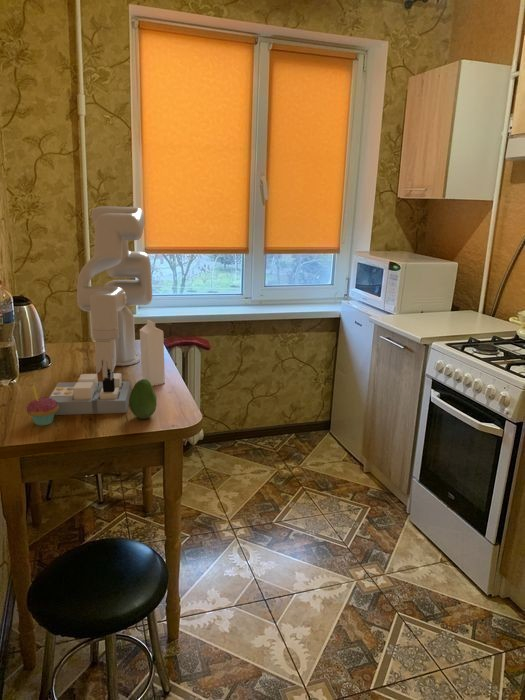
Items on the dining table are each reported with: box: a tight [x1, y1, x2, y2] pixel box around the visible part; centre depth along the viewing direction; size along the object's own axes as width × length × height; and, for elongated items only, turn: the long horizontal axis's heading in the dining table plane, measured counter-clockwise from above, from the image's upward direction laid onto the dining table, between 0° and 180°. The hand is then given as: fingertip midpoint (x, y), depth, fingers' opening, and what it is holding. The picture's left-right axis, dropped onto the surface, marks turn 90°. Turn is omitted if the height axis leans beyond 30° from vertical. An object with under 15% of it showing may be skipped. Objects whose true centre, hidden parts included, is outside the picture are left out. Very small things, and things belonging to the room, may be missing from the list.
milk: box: [139, 319, 166, 387], centre depth 182 cm, size 6×6×22 cm
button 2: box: [73, 381, 94, 400], centre depth 162 cm, size 5×5×5 cm
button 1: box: [77, 373, 99, 390], centre depth 169 cm, size 5×5×5 cm
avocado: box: [128, 378, 158, 420], centre depth 156 cm, size 8×8×12 cm
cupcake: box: [25, 383, 59, 426], centre depth 151 cm, size 9×8×12 cm
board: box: [48, 380, 133, 416], centre depth 166 cm, size 16×23×4 cm
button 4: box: [113, 372, 123, 390], centre depth 170 cm, size 5×5×5 cm
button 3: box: [100, 388, 119, 399], centre depth 163 cm, size 5×5×5 cm
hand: (109, 391), depth 162 cm, fingers closed
